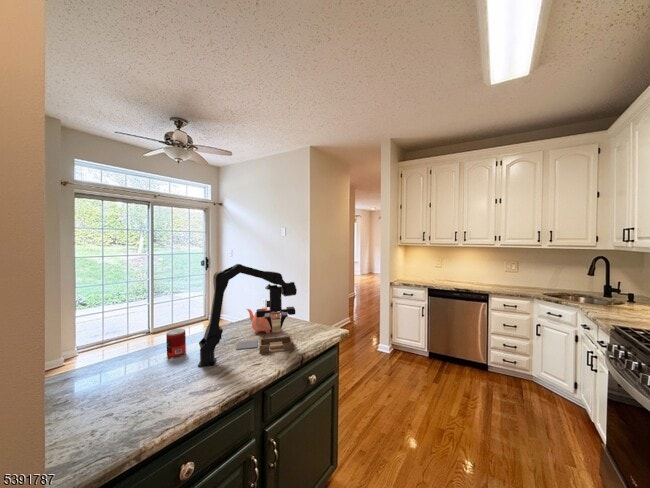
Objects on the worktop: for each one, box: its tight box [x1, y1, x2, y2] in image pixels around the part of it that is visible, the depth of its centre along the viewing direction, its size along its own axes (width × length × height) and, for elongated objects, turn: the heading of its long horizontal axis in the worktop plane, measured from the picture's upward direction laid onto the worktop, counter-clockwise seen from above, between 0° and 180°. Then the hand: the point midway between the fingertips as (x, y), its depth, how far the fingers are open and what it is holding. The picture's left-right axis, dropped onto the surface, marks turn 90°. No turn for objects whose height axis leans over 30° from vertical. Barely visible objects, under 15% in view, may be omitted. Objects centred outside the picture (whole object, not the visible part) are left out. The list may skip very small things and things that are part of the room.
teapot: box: [246, 307, 281, 334], centre depth 161 cm, size 16×17×14 cm
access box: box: [258, 335, 295, 355], centre depth 134 cm, size 10×16×4 cm, turn 104°
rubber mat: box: [235, 339, 259, 351], centre depth 138 cm, size 10×10×1 cm
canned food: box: [165, 328, 187, 359], centre depth 128 cm, size 8×8×11 cm
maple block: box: [271, 316, 282, 333], centre depth 134 cm, size 4×4×6 cm
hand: (276, 329), depth 134 cm, fingers closed on maple block, 4 cm apart
